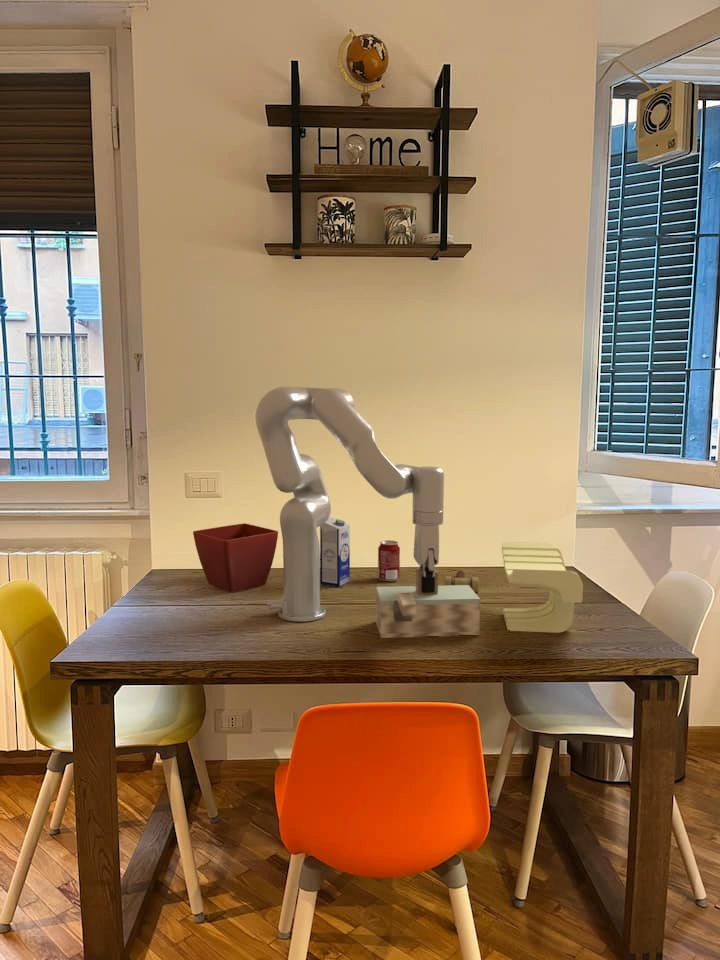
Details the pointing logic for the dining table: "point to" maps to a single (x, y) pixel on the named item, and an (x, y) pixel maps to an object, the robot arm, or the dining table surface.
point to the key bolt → (406, 604)
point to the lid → (440, 596)
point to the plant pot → (236, 555)
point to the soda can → (388, 561)
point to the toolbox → (428, 620)
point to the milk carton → (334, 553)
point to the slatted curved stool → (543, 570)
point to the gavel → (463, 581)
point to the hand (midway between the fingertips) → (426, 589)
